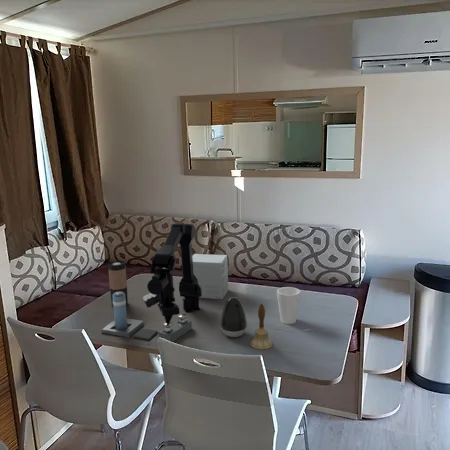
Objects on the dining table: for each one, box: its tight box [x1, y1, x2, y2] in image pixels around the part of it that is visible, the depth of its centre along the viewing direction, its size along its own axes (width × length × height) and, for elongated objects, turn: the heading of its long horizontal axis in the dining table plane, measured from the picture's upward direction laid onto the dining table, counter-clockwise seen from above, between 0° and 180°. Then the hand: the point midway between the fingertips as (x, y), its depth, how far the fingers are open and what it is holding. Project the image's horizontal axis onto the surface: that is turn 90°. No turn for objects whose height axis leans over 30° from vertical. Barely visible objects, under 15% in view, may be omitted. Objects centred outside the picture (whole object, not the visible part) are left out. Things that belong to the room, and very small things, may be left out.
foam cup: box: [276, 286, 301, 325], centre depth 186 cm, size 10×9×13 cm
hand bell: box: [249, 303, 273, 351], centre depth 166 cm, size 8×8×16 cm
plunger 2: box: [177, 313, 188, 324], centre depth 181 cm, size 4×4×4 cm
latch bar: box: [157, 319, 193, 342], centre depth 177 cm, size 14×5×3 cm, turn 148°
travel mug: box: [107, 260, 129, 307], centre depth 205 cm, size 8×8×20 cm
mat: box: [132, 327, 159, 341], centre depth 177 cm, size 7×7×1 cm
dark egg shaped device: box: [220, 296, 248, 338], centre depth 175 cm, size 10×10×15 cm
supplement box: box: [192, 253, 229, 300], centre depth 217 cm, size 17×13×18 cm
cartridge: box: [112, 292, 128, 331], centre depth 180 cm, size 5×5×16 cm
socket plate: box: [101, 318, 145, 338], centre depth 183 cm, size 12×12×2 cm
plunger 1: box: [162, 321, 173, 334], centre depth 173 cm, size 4×4×4 cm
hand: (167, 323), depth 172 cm, fingers closed, pressing on plunger 1
